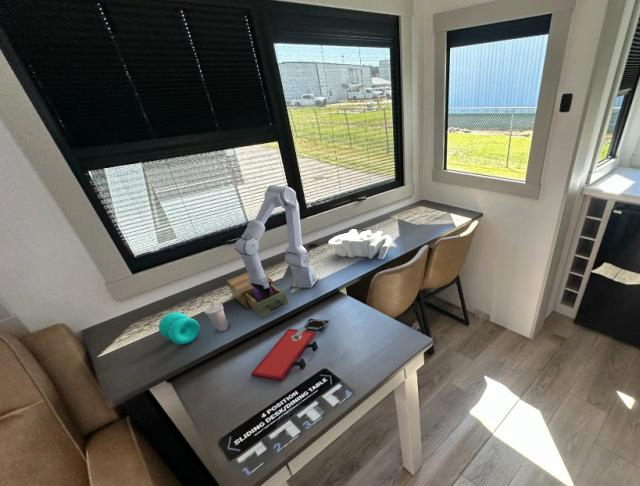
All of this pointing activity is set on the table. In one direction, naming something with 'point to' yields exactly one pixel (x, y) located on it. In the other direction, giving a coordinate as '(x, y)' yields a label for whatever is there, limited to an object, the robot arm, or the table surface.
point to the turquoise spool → (179, 328)
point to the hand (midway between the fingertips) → (264, 296)
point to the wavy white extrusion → (361, 244)
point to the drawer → (267, 302)
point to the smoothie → (217, 315)
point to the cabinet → (242, 287)
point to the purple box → (259, 295)
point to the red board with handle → (289, 351)
